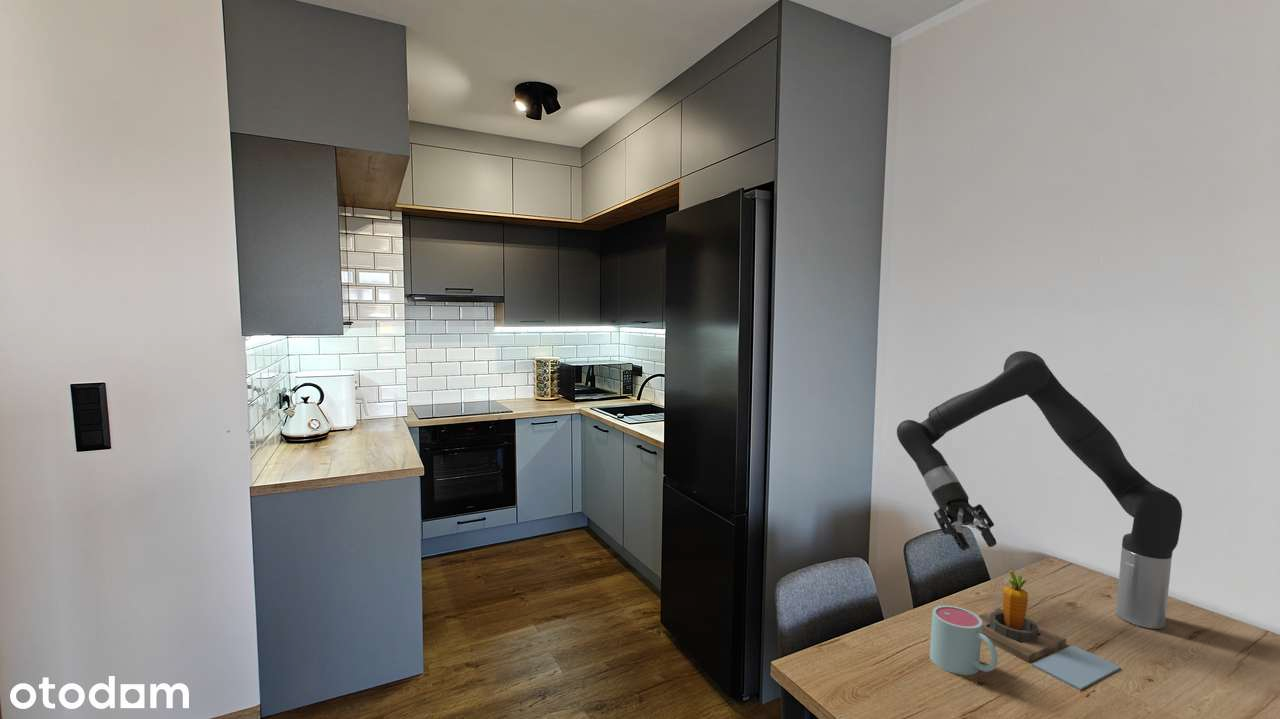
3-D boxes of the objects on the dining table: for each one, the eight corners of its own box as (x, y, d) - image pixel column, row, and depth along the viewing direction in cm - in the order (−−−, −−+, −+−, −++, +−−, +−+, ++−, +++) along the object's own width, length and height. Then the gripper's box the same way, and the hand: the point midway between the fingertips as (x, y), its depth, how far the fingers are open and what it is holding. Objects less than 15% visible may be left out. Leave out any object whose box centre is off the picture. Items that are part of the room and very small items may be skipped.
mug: (919, 654, 126) (922, 609, 125) (950, 645, 130) (953, 602, 129) (978, 693, 114) (982, 643, 113) (1010, 682, 117) (1014, 634, 117)
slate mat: (1072, 646, 131) (1072, 645, 131) (1120, 668, 123) (1120, 666, 123) (1031, 665, 123) (1032, 663, 123) (1080, 690, 115) (1080, 688, 115)
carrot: (1029, 643, 132) (1034, 579, 130) (1004, 640, 132) (1009, 576, 131) (1019, 632, 136) (1024, 569, 135) (996, 629, 137) (1001, 567, 136)
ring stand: (998, 613, 145) (999, 600, 144) (1066, 644, 131) (1067, 630, 131) (960, 628, 137) (962, 613, 137) (1028, 662, 124) (1029, 646, 124)
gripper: (932, 482, 148) (967, 544, 138) (975, 478, 152) (1012, 538, 142) (914, 496, 153) (947, 556, 143) (957, 492, 158) (991, 550, 148)
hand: (979, 547), depth 143 cm, fingers open, 8 cm apart
